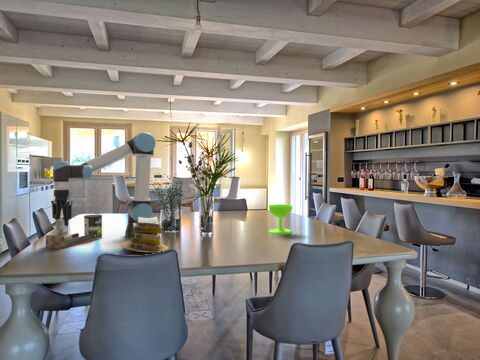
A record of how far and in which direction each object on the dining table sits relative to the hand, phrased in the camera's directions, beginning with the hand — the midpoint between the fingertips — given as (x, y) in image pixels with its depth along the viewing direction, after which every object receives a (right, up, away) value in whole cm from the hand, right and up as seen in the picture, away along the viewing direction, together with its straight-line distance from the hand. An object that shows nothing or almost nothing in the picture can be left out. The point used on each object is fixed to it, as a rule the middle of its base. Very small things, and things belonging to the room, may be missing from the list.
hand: (62, 231), depth 190 cm
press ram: (0, -6, +1) cm, 6 cm away
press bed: (+2, -8, +5) cm, 10 cm away
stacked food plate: (+48, -9, -8) cm, 49 cm away
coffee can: (+8, -8, +21) cm, 24 cm away
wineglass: (+126, -7, +42) cm, 133 cm away
